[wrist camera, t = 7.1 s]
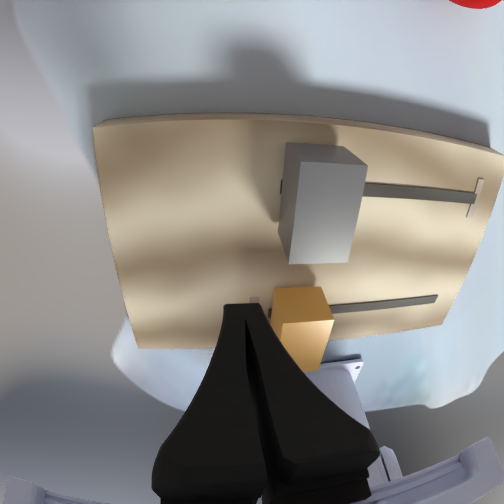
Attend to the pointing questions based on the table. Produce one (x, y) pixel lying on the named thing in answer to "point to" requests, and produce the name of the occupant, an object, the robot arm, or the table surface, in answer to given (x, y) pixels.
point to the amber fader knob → (302, 324)
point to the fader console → (267, 219)
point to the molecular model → (476, 3)
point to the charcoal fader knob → (319, 202)
